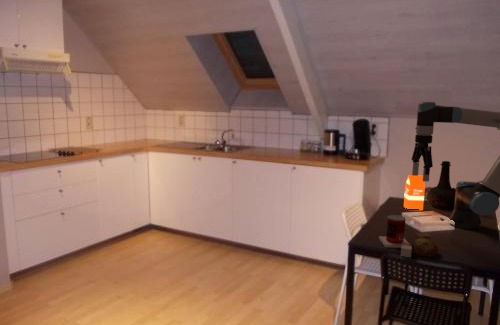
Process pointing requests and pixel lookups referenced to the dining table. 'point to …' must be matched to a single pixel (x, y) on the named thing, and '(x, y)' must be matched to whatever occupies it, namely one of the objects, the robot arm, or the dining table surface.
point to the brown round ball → (421, 236)
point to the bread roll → (424, 247)
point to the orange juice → (414, 192)
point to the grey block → (406, 251)
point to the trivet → (392, 245)
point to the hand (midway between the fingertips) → (420, 178)
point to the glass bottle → (443, 190)
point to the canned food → (395, 229)
